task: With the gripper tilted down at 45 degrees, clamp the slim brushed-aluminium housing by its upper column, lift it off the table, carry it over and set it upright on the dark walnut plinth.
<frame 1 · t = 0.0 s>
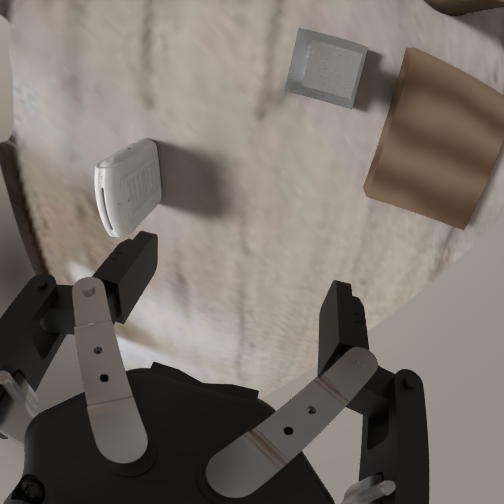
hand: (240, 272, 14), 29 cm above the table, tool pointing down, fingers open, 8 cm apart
housing: (325, 67, 33), on the table
walnut plinth: (439, 140, 34), on the table
photo printer: (149, 169, 44), on the table
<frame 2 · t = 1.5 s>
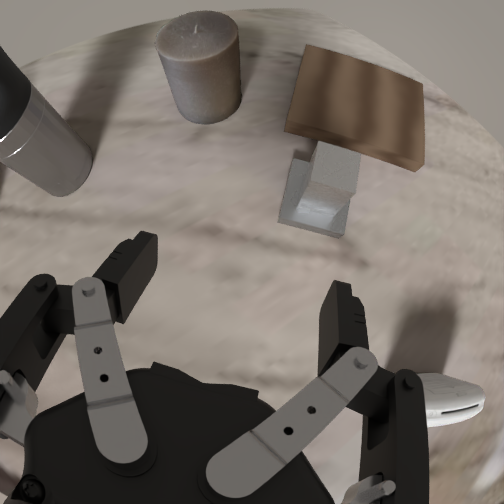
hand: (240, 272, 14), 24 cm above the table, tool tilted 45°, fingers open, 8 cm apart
housing: (314, 201, 40), on the table
pillar candle: (207, 99, 43), on the table
walnut plinth: (358, 108, 43), on the table
photo printer: (408, 387, 36), on the table
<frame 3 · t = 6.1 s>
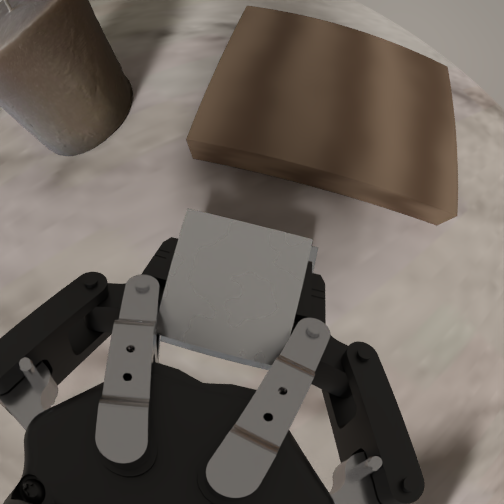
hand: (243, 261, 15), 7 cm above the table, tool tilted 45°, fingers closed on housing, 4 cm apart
housing: (240, 296, 21), on the table, touching gripper
pillar candle: (84, 112, 24), on the table
walnut plinth: (337, 106, 24), on the table
when the fingers open (12 cm above the table, at t = 12.5 s): housing drops 1 cm, resting on walnut plinth.
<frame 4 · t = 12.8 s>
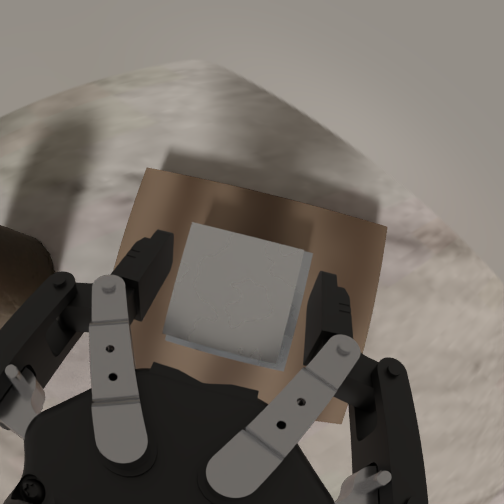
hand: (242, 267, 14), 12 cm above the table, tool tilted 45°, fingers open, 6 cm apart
housing: (239, 298, 23), point 3 cm above the table, touching walnut plinth
pillar candle: (21, 283, 26), on the table
walnut plinth: (241, 297, 26), on the table
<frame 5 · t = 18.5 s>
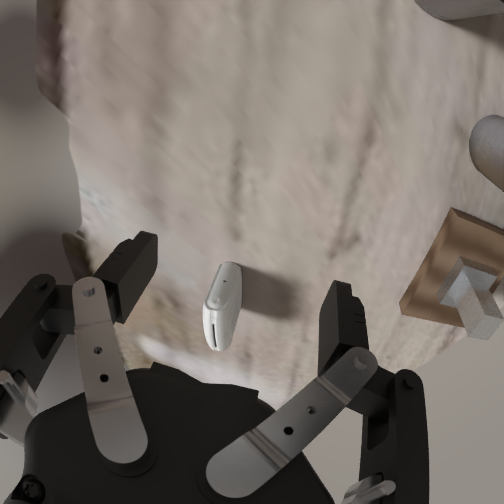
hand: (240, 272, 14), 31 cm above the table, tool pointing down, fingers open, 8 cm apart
housing: (464, 280, 44), point 3 cm above the table, touching walnut plinth
pillar candle: (493, 144, 34), on the table
walnut plinth: (459, 270, 46), on the table
photo printer: (231, 283, 56), on the table
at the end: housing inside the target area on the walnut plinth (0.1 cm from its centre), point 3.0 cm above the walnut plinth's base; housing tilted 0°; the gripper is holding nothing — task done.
